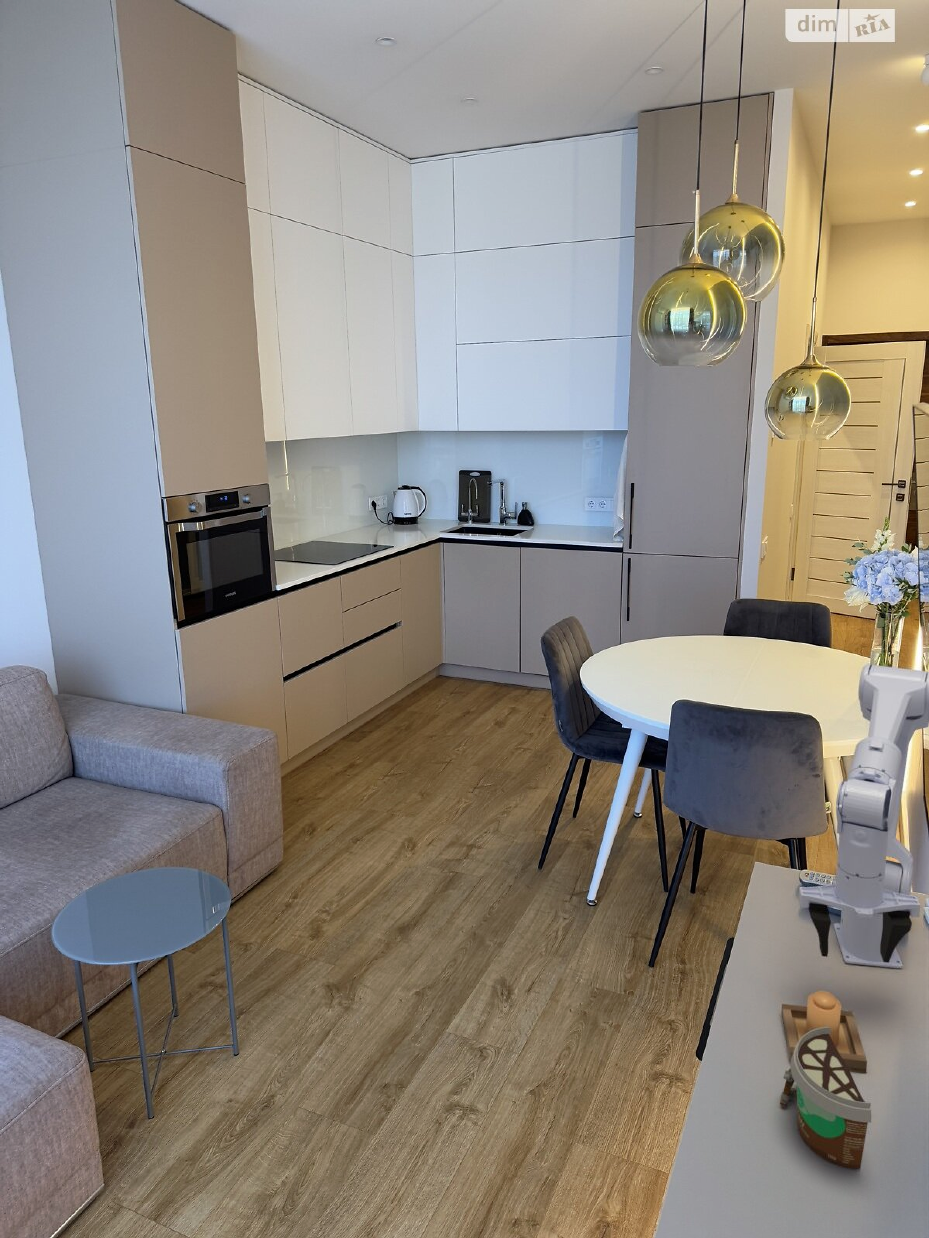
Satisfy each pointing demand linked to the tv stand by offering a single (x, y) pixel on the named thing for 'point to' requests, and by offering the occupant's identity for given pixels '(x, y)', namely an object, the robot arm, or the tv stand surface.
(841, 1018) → the tray
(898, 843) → the robot arm
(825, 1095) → the food container
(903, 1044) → the tv stand surface
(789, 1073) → the wooden post with brackets
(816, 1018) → the wooden dowel peg
